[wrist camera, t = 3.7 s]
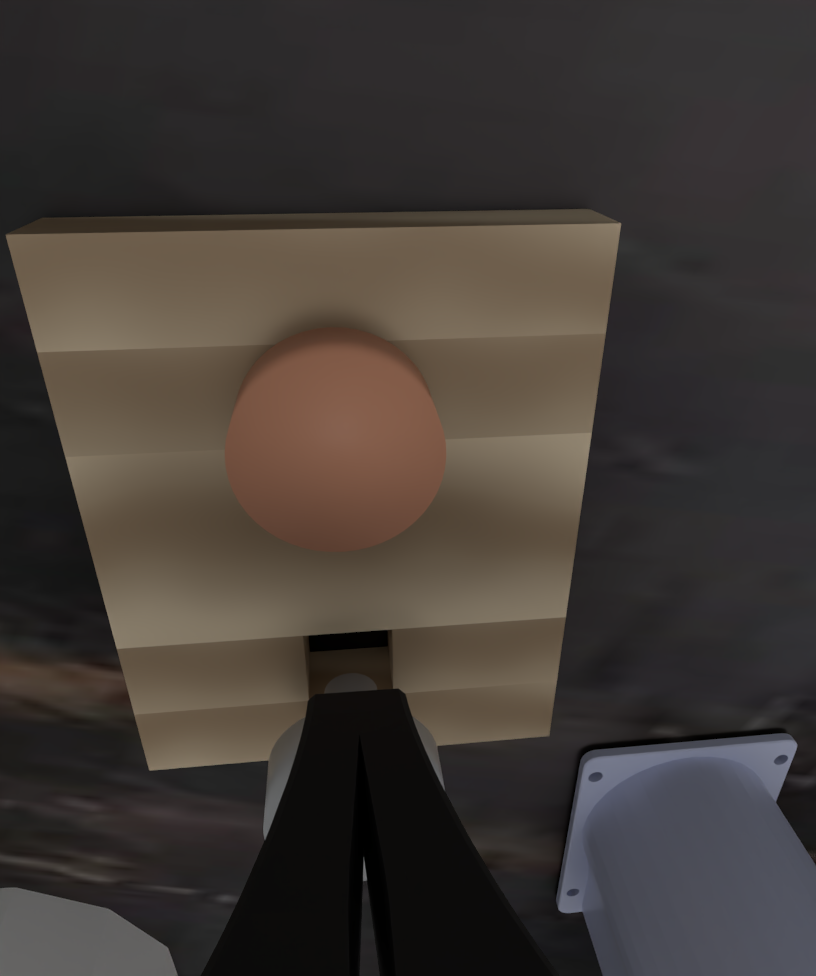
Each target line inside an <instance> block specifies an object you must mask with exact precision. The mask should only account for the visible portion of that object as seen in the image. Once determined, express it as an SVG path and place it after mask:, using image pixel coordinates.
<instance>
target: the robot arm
mask: <svg viewBox="0 0 816 976" xmlns="http://www.w3.org/2000/svg"><path fill="white" fill-rule="evenodd" d="M796 749H797V743H796V742H795V740H794V739H793V738H792V736H791V735H789V734H786V733H778V734H767V735H755V736H744V737H733V738H722V739H710V740H699V741H688V742H677V743H665V744H654V745H643V746H632V747H620V748H609V749H598V750H592V751H589V752H587V753H586V754H585V755H584V756H583V757H582V758H581V761H580V766H579V772H578V778H577V783H576V789H575V795H574V800H573V806H572V812H571V817H570V823H569V829H568V834H567V840H566V846H565V851H564V857H563V863H562V868H561V874H560V880H559V885H558V891H557V897H556V903H557V906H558V909H559V910H560V911H561V912H563V913H574V912H583V915H584V918H585V921H586V924H587V927H588V930H589V933H590V937H591V940H592V943H593V946H594V949H595V952H596V956H597V959H598V962H599V965H600V968H601V971H602V975H603V976H816V865H815V863H814V862H813V860H812V859H811V857H810V855H809V854H808V852H807V851H806V849H805V848H804V846H803V844H802V843H801V841H800V840H799V838H798V837H797V835H796V833H795V832H794V830H793V829H792V827H791V826H790V824H789V822H788V821H787V819H786V818H785V816H784V815H783V813H782V811H781V810H780V808H779V807H778V805H777V804H776V800H777V797H778V795H779V792H780V790H781V787H782V785H783V782H784V780H785V777H786V774H787V772H788V769H789V767H790V764H791V762H792V759H793V757H794V754H795V752H796ZM364 861H365V869H366V876H367V884H368V891H369V899H370V906H371V913H372V921H373V928H374V935H375V943H376V950H377V957H378V965H379V972H380V976H559V974H558V973H557V972H556V970H555V969H554V967H553V966H552V965H551V963H550V962H549V961H548V959H547V958H546V956H545V955H544V954H543V952H542V951H541V949H540V948H539V947H538V945H537V944H536V942H535V941H534V939H533V938H532V936H531V935H530V933H529V932H528V930H527V929H526V928H525V926H524V925H523V923H522V922H521V920H520V919H519V917H518V916H517V914H516V913H515V911H514V910H513V908H512V907H511V905H510V903H509V902H508V900H507V899H506V897H505V896H504V894H503V893H502V891H501V889H500V888H499V886H498V885H497V883H496V881H495V880H494V878H493V876H492V875H491V873H490V871H489V870H488V868H487V866H486V865H485V863H484V861H483V860H482V858H481V856H480V855H479V853H478V851H477V850H476V848H475V846H474V845H473V843H472V841H471V839H470V837H469V836H468V834H467V832H466V830H465V828H464V827H463V825H462V823H461V821H460V819H459V817H458V815H457V813H456V812H455V810H454V808H453V806H452V804H451V802H450V800H449V798H448V796H447V794H446V792H445V790H444V789H443V787H442V785H441V783H440V781H439V778H438V776H437V774H436V772H435V770H434V768H433V766H432V764H431V761H430V759H429V757H428V755H427V752H426V750H425V748H424V745H423V743H422V741H421V738H420V736H419V733H418V731H417V728H416V725H415V723H414V720H413V717H412V714H411V711H410V708H409V705H408V701H407V697H406V694H405V693H404V692H402V691H401V690H400V689H398V688H397V689H383V690H368V691H354V692H339V693H325V694H315V695H314V696H313V697H311V698H310V699H309V700H308V703H307V710H306V716H305V721H304V725H303V730H302V734H301V738H300V742H299V745H298V749H297V752H296V755H295V759H294V762H293V765H292V768H291V771H290V774H289V777H288V780H287V783H286V786H285V789H284V791H283V794H282V797H281V799H280V802H279V805H278V808H277V810H276V813H275V816H274V818H273V821H272V824H271V826H270V829H269V831H268V834H267V836H266V839H265V841H264V844H263V846H262V848H261V850H260V853H259V855H258V857H257V860H256V862H255V864H254V867H253V869H252V871H251V873H250V876H249V878H248V880H247V883H246V885H245V887H244V889H243V892H242V894H241V896H240V898H239V900H238V903H237V905H236V907H235V909H234V911H233V913H232V915H231V917H230V919H229V921H228V924H227V926H226V928H225V930H224V932H223V934H222V936H221V938H220V940H219V942H218V944H217V946H216V948H215V949H214V951H213V953H212V955H211V957H210V959H209V961H208V963H207V965H206V967H205V969H204V971H203V973H202V975H201V976H359V972H360V945H361V919H362V891H363V864H364Z"/></svg>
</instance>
